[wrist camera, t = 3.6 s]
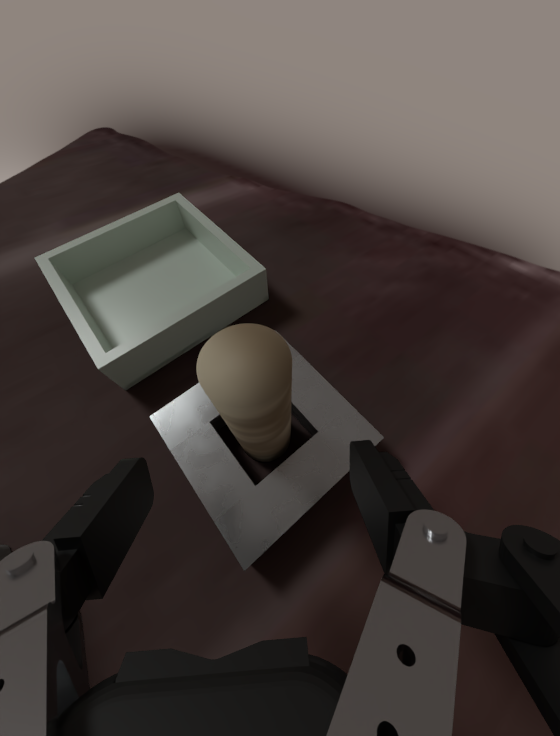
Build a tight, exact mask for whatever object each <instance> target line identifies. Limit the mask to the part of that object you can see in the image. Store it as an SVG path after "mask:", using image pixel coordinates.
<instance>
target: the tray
mask: <svg viewBox="0 0 560 736" xmlns="http://www.w3.org/2000/svg"><path fill="white" fill-rule="evenodd" d="M35 260H36V261H37V263H38V265H39V267H40V268H41V270H42V272H43V274H44V275H45V277H46V279H47V281H48V282H49V284H50V286H51V288H52V289H53V291H54V293H55V295H56V296H57V298H58V300H59V302H60V303H61V305H62V307H63V309H64V310H65V312H66V314H67V316H68V317H69V319H70V321H71V323H72V324H73V326H74V328H75V330H76V331H77V333H78V335H79V337H80V338H81V340H82V342H83V344H84V345H85V347H86V349H87V351H88V352H89V354H90V356H91V358H92V359H93V361H94V363H95V365H96V366H97V368H98V370H100V371H101V372H102V373H104V374H105V375H106V376H107V377H109V378H110V379H111V380H113V381H114V382H115V383H117V384H118V385H119V386H120V387H122V388H123V389H124V390H127V389H129V388H131V387H132V386H134V385H135V384H137V383H138V382H140V381H142V380H143V379H145V378H146V377H148V376H149V375H151V374H152V373H154V372H156V371H157V370H159V369H160V368H162V367H163V366H165V365H167V364H168V363H170V362H171V361H173V360H174V359H176V358H178V357H179V356H181V355H182V354H184V353H185V352H187V351H188V350H190V349H192V348H193V347H195V346H196V345H198V344H199V343H201V342H203V341H204V340H206V339H207V338H209V337H210V336H212V335H214V334H215V333H217V332H218V331H220V330H221V329H223V328H224V327H226V326H228V325H229V324H231V323H232V322H234V321H235V320H237V319H239V318H240V317H242V316H243V315H245V314H246V313H248V312H249V311H251V310H253V309H254V308H256V307H257V306H259V305H260V304H262V303H264V302H265V301H267V300H268V299H269V296H268V285H267V275H266V268H264V267H263V266H262V265H261V264H260V263H259V262H258V261H256V260H255V259H254V258H253V257H252V256H251V255H250V254H248V253H247V252H246V251H245V250H244V249H243V248H242V247H240V246H239V245H238V244H237V243H236V242H235V241H234V240H232V239H231V238H230V237H229V236H228V235H227V234H226V233H224V232H223V231H222V230H221V229H220V228H219V227H218V226H216V225H215V224H214V223H213V222H212V221H211V220H209V219H208V218H207V217H206V216H205V215H204V214H203V213H201V212H200V211H199V210H198V209H197V208H196V207H195V206H193V205H192V204H191V203H190V202H189V201H188V200H187V199H185V198H184V197H183V196H182V195H181V194H180V193H177V194H175V195H173V196H170V197H168V198H166V199H164V200H162V201H159V202H157V203H155V204H153V205H150V206H148V207H146V208H144V209H142V210H139V211H137V212H135V213H133V214H131V215H128V216H126V217H124V218H122V219H119V220H117V221H115V222H113V223H111V224H108V225H106V226H104V227H102V228H100V229H97V230H95V231H93V232H91V233H88V234H86V235H84V236H82V237H80V238H77V239H75V240H73V241H71V242H68V243H66V244H64V245H62V246H60V247H57V248H55V249H53V250H51V251H49V252H46V253H44V254H42V255H40V256H37V257H35Z"/></svg>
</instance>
